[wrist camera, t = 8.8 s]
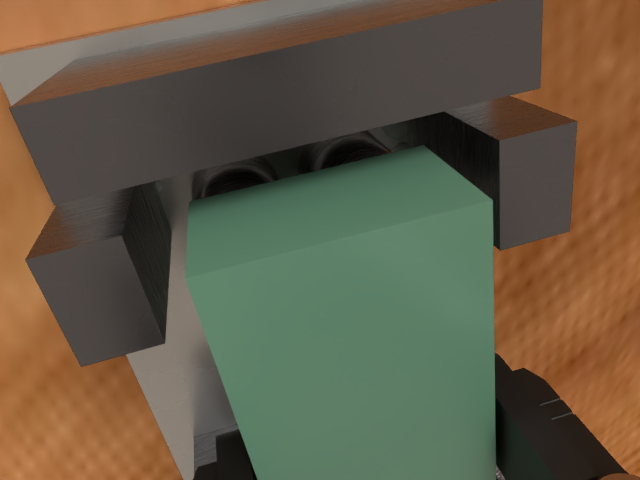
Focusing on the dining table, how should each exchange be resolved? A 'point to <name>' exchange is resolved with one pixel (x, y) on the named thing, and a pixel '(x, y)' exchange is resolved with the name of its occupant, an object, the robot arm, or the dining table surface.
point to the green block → (353, 319)
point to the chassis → (259, 153)
